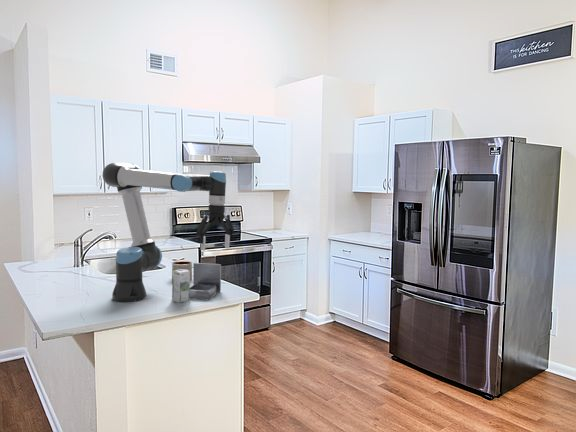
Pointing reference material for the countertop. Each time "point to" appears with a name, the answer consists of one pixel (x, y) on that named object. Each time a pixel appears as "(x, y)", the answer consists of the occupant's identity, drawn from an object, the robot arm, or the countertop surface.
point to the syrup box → (180, 285)
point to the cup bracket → (205, 281)
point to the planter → (182, 267)
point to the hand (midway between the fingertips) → (215, 249)
